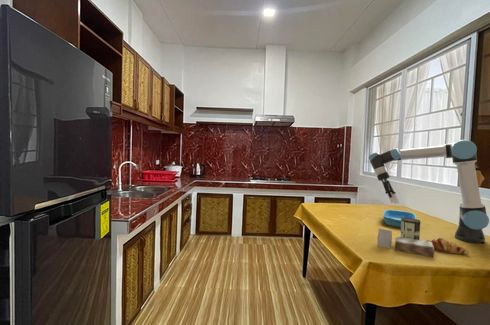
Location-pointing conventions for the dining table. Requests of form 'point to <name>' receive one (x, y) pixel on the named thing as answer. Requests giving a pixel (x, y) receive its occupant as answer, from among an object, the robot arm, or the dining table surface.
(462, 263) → the dining table surface
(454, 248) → the croissant
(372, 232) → the dining table surface
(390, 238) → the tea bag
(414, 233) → the coffee can
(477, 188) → the robot arm
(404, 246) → the stand
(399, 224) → the casserole dish
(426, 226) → the dining table surface
